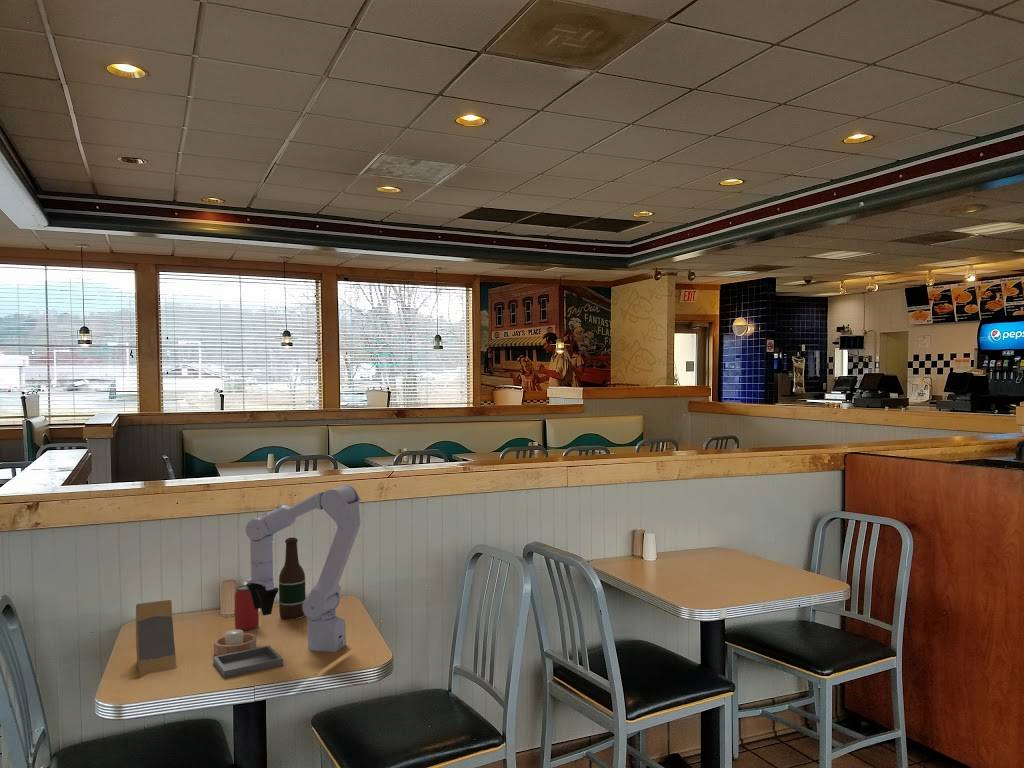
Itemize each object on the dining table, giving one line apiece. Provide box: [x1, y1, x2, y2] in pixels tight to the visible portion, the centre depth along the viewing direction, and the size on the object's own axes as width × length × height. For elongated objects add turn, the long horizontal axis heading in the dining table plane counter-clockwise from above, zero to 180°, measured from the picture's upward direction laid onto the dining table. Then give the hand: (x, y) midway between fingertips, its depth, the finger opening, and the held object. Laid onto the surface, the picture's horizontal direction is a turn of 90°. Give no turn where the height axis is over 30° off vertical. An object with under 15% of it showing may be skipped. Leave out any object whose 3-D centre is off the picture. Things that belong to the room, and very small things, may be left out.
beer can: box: [234, 584, 260, 632], centre depth 220 cm, size 7×7×12 cm
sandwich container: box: [135, 599, 178, 679], centre depth 189 cm, size 9×15×15 cm, turn 29°
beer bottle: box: [278, 537, 306, 620], centre depth 230 cm, size 8×8×24 cm
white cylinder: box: [224, 629, 244, 645], centre depth 197 cm, size 4×4×5 cm
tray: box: [212, 645, 284, 679], centre depth 187 cm, size 14×12×3 cm
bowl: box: [213, 632, 258, 656], centre depth 197 cm, size 10×10×4 cm
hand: (262, 611), depth 204 cm, fingers open, 7 cm apart
